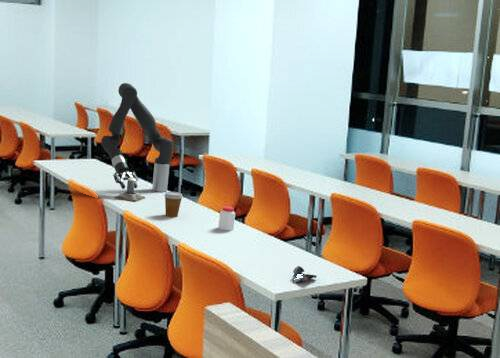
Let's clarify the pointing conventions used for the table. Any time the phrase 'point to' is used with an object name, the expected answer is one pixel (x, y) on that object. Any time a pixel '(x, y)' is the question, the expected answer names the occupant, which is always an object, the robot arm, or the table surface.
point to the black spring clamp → (305, 277)
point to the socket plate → (130, 196)
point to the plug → (130, 186)
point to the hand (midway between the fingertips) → (130, 188)
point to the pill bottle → (226, 218)
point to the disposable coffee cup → (172, 203)
